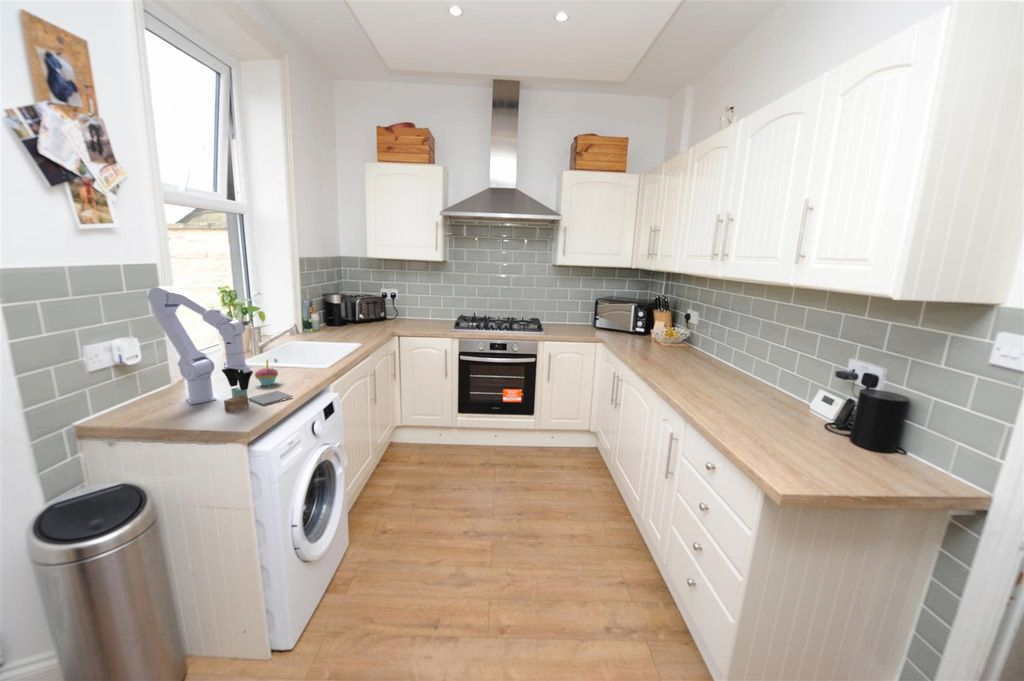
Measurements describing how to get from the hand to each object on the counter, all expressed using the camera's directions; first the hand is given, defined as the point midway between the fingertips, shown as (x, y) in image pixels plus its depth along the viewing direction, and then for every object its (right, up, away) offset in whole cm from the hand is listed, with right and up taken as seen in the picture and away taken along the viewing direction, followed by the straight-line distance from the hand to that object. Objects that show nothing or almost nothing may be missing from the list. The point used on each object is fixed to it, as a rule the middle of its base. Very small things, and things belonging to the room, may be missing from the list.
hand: (239, 387), depth 153 cm
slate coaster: (+10, -5, +4) cm, 12 cm away
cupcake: (-2, -1, +22) cm, 22 cm away
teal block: (0, -5, +1) cm, 5 cm away
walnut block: (+4, -7, -6) cm, 10 cm away
